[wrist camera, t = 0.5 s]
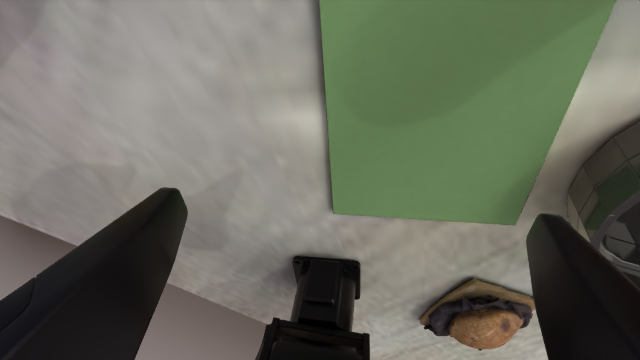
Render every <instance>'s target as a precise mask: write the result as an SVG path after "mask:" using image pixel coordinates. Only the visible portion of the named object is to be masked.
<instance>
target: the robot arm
mask: <svg viewBox="0 0 640 360" xmlns="http://www.w3.org/2000/svg"><path fill="white" fill-rule="evenodd" d="M187 215H188V211H187V207H186V205H185V202H184V200H183V198H182V195H181V193H180V191H179V190H178V189H177V188H167V187H164V188H161V189H159V190H157V191H156V192H155V193H153V194H152V195H150V196H149V197H147V198H146V199H145V200H143V201H142V202H140V203H139V204H138V205H136V206H135V207H133V208H132V209H130V210H129V211H128V212H126V213H125V214H123V215H122V216H120V217H119V218H118V219H116V220H115V221H113V222H112V223H111V224H109V225H108V226H106V227H105V228H103V229H102V230H101V231H99V232H98V233H96V234H95V235H94V236H92V237H91V238H89V239H88V240H86V241H85V242H84V243H82V244H81V245H79V246H78V247H76V248H75V249H74V250H72V251H71V252H69V253H68V254H67V255H65V256H64V257H62V258H61V259H59V260H58V261H57V262H55V263H54V264H52V265H51V266H49V267H48V268H47V269H45V270H44V271H42V272H41V273H40V274H38V275H37V277H36V278H32V279H31V280H29V281H28V282H27V283H25V284H24V285H22V286H21V287H19V288H18V289H17V290H15V291H14V292H12V293H11V294H9V295H8V296H6V297H5V298H3V299H2V300H0V360H134V359H135V357H136V354H137V352H138V349H139V347H140V344H141V342H142V340H143V338H144V335H145V333H146V330H147V328H148V326H149V323H150V320H151V318H152V316H153V313H154V311H155V308H156V306H157V304H158V301H159V299H160V297H161V294H162V292H163V289H164V287H165V284H166V282H167V280H168V277H169V275H170V272H171V270H172V267H173V264H174V261H175V258H176V254H177V251H178V247H179V244H180V240H181V237H182V234H183V230H184V227H185V223H186V220H187ZM526 244H527V253H528V260H529V268H530V276H531V284H532V292H533V298H534V304H535V308H536V313H537V317H538V321H539V325H540V328H541V332H542V336H543V340H544V344H545V348H546V352H547V356H548V360H640V289H639V288H638V287H637V286H636V285H635V284H634V283H633V282H632V281H631V280H630V279H629V278H627V277H626V276H625V275H624V274H623V273H622V272H621V271H620V270H619V269H618V268H617V267H616V266H614V265H613V264H612V263H611V262H610V261H609V260H608V259H607V258H606V257H605V256H604V255H603V254H601V253H600V252H599V251H598V250H597V249H596V248H595V247H594V246H593V245H592V244H591V243H590V242H589V241H587V240H586V239H585V238H584V237H583V236H582V235H581V234H580V233H579V232H578V231H577V230H576V229H574V228H573V227H572V226H571V225H570V224H569V223H568V222H567V221H566V220H565V219H564V218H563V217H561V216H560V215H557V214H539V215H538V216H537V218H536V220H535V222H534V224H533V225H532V227H531V229H530V231H529V233H528V235H527V240H526ZM293 267H294V272H295V276H296V281H297V290H296V295H295V300H294V305H293V309H292V314H291V319H290V321H286V320H280V318H275V317H274V318H273V321H272V324H269V325H266V329H265V333H264V338H263V341H262V344H261V347H260V349H259V352H258V354H257V357H256V359H255V360H370V339H369V334H368V333H363V334H362V333H356V332H352V325H353V313H354V301H355V300H357V299H360V263H359V262H358V261H350V260H338V259H326V258H314V257H301V256H295V257H294V258H293Z"/></svg>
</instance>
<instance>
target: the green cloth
mask: <svg viewBox="0 0 640 360" xmlns="http://www.w3.org/2000/svg"><path fill="white" fill-rule="evenodd" d="M616 1H617V0H319V8H320V23H321V38H322V53H323V68H324V82H325V97H326V112H327V127H328V142H329V157H330V172H331V187H332V202H333V214H345V215H361V216H377V217H392V218H408V219H424V220H440V221H455V222H471V223H487V224H503V225H515V224H516V222H517V220H518V218H519V215H520V213H521V211H522V209H523V207H524V204H525V202H526V200H527V198H528V196H529V193H530V191H531V189H532V187H533V184H534V182H535V180H536V178H537V176H538V173H539V171H540V169H541V167H542V164H543V162H544V160H545V158H546V156H547V153H548V151H549V149H550V147H551V145H552V142H553V140H554V138H555V136H556V133H557V131H558V129H559V127H560V125H561V122H562V120H563V118H564V116H565V114H566V111H567V109H568V107H569V105H570V102H571V100H572V98H573V96H574V94H575V91H576V89H577V87H578V85H579V83H580V80H581V78H582V76H583V74H584V71H585V69H586V67H587V65H588V63H589V60H590V58H591V56H592V54H593V52H594V49H595V47H596V45H597V43H598V40H599V38H600V36H601V34H602V32H603V29H604V27H605V25H606V23H607V21H608V18H609V16H610V14H611V12H612V9H613V7H614V5H615V3H616Z"/></svg>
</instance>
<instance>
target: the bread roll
mask: <svg viewBox="0 0 640 360" xmlns="http://www.w3.org/2000/svg"><path fill="white" fill-rule="evenodd" d="M451 292H452V290H451ZM535 309H536V308H535V304H534V298H532V297H529V296H527V295H524V294H523V295H522V294H520V293H517V292H511V291H509V290H506V289H505V288H503V287H500V286H496V285H493V284H489V283H486V282H482V281H480V280H476V279H474V278H473V280H472V281H469V282H468V283H466V284H463V285H462V286H460V287H458V289H455V290H454V291H453V292H452V293H450V294H447V295H446V296H445V298H441V300H440V301H439V302H437V303H436V305H434V306H433V307H430V310H429V311H427V312H426V314H424V315H422V317H421V318H420V323H421V324H422V325H424V326H425V327H424V329H425V330H426V329H429V330H431V331H432V332H434V334H435V335H436V336H449V335H450V336H451V337H454V338H455V339H457V340H458V341H459V342H460V343H462V344H465V345H467V346H470V347H473V348H477V349H479V350H480V351H481V350H482V349H493V348H497V347H500V346H502V345H504V344H505V343H507V342H508V341H509V340H510V339H511V338H512V336H513V335H514V334H515V333H516V332H517V330H518V329H520V328H524V327H526V326H528V324H529V322H530V319H531V318H532V316H533V314H532V311H533V310H535Z"/></svg>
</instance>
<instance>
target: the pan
mask: <svg viewBox="0 0 640 360" xmlns="http://www.w3.org/2000/svg"><path fill="white" fill-rule="evenodd" d="M567 215H568V217H569V220H570V222H571V224H572V227H573V228H574V229H576V230H577V231H578V232H579V233H580V234H581V235H582V236H583V237H584V238H585V239H586V240H587V241H589V242H590V243H591V244H592V245H593V246H594V247H595V248H596V249H597V250H598V251H599V252H600V253H601V254H603V255H604V256H605V257H606V258H607V259H608V260H609V261H610V262H611V263H612V264H613V265H614V266H616V267H617V268H618V269H619V270H620V271H621V272H622V273H623V274H624V275H625V276H626V277H627V278H629V279H630V280H631V281H632V282H633V283H634V284H635V285H636V286H637V287H638V288H639V289H640V121H639V122H637V123H636V124H634V125H632V126H631V127H629V128H628V129H626V130H624V131H623V132H621V133H619V134H618V135H616V136H614V137H613V138H612V139H610V140H609V141H608V142H607V143H606V144H605V145H604V146H603V147H602V148H601V149H600V150H599V151H598V152H597V153H596V154H595V155H594V156H593V157H592V158H591V159H590V160H588V161H587V162H586V163H585V164H584V166H582V168H581V170H580V172H579V174H578V175H577V177H576V179H575V181H574V183H573V184H572V186H571V188H570V190H569V192H568V212H567Z"/></svg>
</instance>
